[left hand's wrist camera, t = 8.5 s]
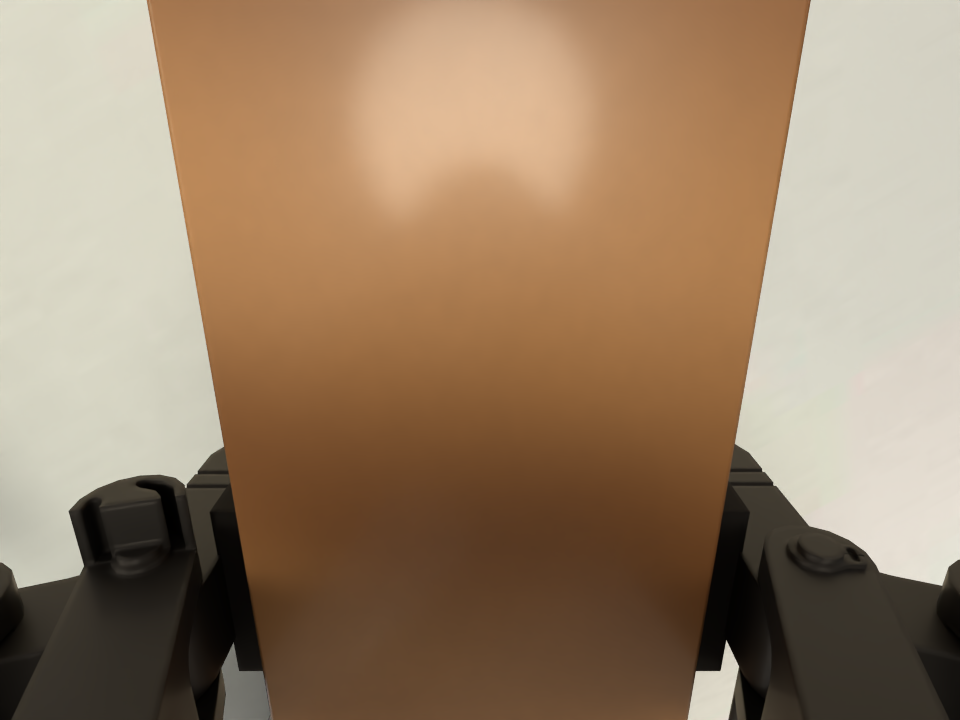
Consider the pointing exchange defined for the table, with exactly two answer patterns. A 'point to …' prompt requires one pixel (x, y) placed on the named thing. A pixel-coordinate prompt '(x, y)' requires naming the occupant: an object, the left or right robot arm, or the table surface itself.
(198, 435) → the table surface
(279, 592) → the bar
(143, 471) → the table surface
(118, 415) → the table surface
